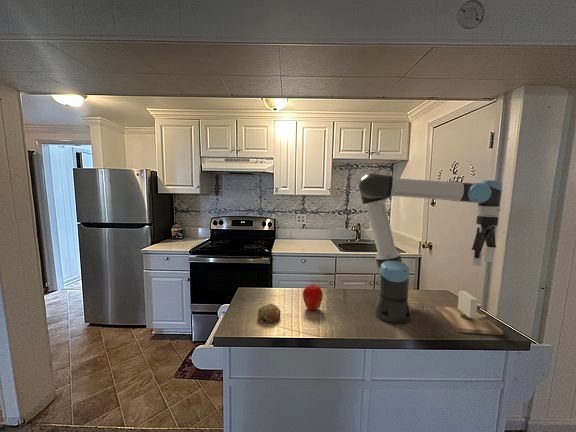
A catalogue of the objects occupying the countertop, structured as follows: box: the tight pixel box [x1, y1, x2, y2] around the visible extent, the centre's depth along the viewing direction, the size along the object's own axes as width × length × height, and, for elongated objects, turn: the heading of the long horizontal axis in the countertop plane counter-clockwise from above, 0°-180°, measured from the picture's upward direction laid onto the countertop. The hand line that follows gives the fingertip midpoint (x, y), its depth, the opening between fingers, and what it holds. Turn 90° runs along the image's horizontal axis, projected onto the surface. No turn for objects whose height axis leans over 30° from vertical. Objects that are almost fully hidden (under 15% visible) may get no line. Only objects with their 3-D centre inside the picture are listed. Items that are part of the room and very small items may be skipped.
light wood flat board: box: [435, 305, 504, 336], centre depth 110 cm, size 16×20×2 cm
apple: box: [302, 284, 324, 312], centre depth 119 cm, size 9×9×12 cm
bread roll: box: [257, 303, 281, 324], centre depth 111 cm, size 10×10×8 cm
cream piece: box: [457, 290, 487, 320], centre depth 109 cm, size 10×9×10 cm
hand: (482, 263), depth 114 cm, fingers open, 13 cm apart
